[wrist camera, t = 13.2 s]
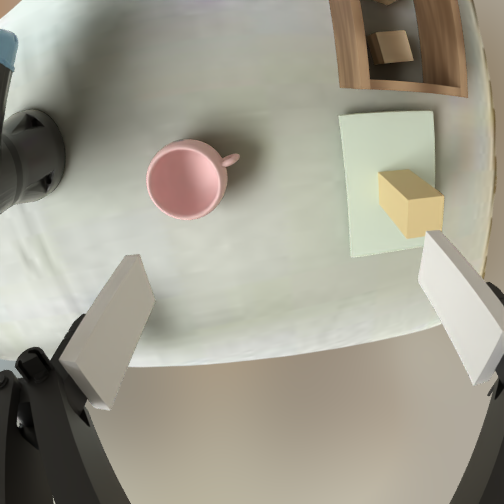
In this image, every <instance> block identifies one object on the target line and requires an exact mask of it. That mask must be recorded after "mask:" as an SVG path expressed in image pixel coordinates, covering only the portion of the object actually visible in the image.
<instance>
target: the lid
mask: <svg viewBox="0 0 504 504" xmlns="http://www.w3.org/2000/svg"><path fill="white" fill-rule="evenodd" d="M338 118H339V125H340V133H341V141H342V150H343V159H344V168H345V179H346V190H347V203H348V218H349V236H350V255H351V257H352V258H354V257H361V256H368V255H374V254H380V253H387V252H393V251H400V250H406V249H412V248H418V247H424V241H425V234H426V231H432V230H440V231H441V232H442V222H443V209H444V195H443V194H441V193H440V192H439V191H437V190H436V189H435V137H434V118H433V111H431V110H409V111H384V112H368V113H354V114H343V115H338Z"/></svg>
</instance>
